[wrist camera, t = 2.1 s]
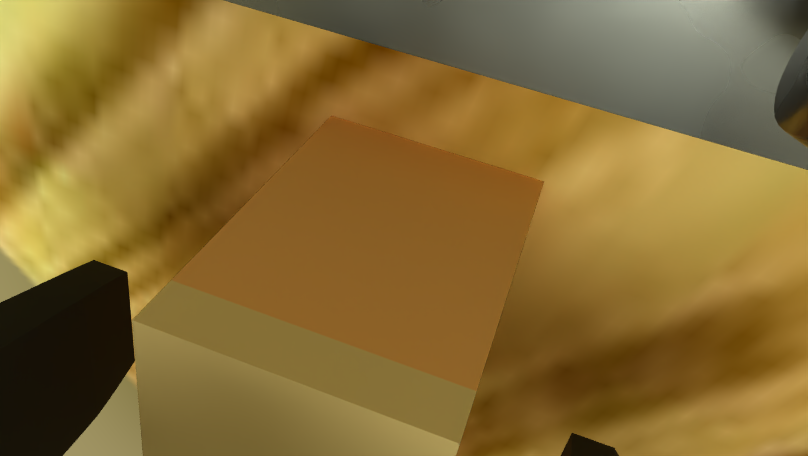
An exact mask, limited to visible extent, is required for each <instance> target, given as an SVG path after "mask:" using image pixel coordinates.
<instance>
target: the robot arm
mask: <svg viewBox="0 0 808 456" xmlns="http://www.w3.org/2000/svg"><path fill="white" fill-rule="evenodd" d="M134 361H135V357H134V346H133V334H132V322H131V310H130V299H129V287H128V275H127V272H126V271H123V270H120V269H117V268H114V267H112V266H109V265H106V264H103V263H101V262H98V261H95V260H93V261H90V262H88V263H86V264H83V265H81V266H79V267H77V268H74V269H72V270H70V271H68V272H65V273H63V274H61V275H59V276H57V277H55V278H52V279H50V280H48V281H46V282H44V283H42V284H40V285H37V286H35V287H33V288H31V289H29V290H27V291H25V292H22V293H20V294H18V295H16V296H14V297H12V298H10V299H7V300H5V301H3V302H1V303H0V456H63V455H64V453H65V452H66V451H67V450H68V449H69V448H70V447H71V446H72V444H73V443H74V442H75V441H76V440H77V439H78V438H79V436H80V435H81V434H82V433H83V432H84V431H85V430H86V428H87V427H88V426H89V425H90V424H91V422H92V421H93V420H94V419H95V418H96V417H97V415H98V414H99V413H100V411H101V410H102V409H103V407H104V406H105V404H106V403H107V402H108V400H109V399H110V397H111V396H112V394H113V393H114V392H115V390H116V389H117V387H118V386H119V384H120V383H121V381H122V379H123V378H124V377H125V375H126V374H127V372H128V371H129V369H130V368H131V366H132V364H133V363H134ZM561 456H619V455H618V454H617V452H616V450H615V448H613V447H610V446H607V445H605V444H602V443H599V442H596V441H594V440H591V439H588V438H585V437H583V436H580V435H577V434H574V433H572V434H571V436H570V438H569V440H568V442H567V444H566V446H565V448H564V450H563V452H562V454H561Z"/></svg>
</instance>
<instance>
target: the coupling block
mask: <svg viewBox="0 0 808 456" xmlns="http://www.w3.org/2000/svg"><path fill="white" fill-rule="evenodd" d="M543 183H544V181H540V180H537V179H534V178H531V177H528V176H524V175H521V174H518V173H515V172H511V171H508V170H505V169H502V168H499V167H495V166H492V165H489V164H486V163H483V162H479V161H476V160H473V159H470V158H466V157H463V156H460V155H457V154H454V153H450V152H447V151H444V150H441V149H437V148H434V147H431V146H428V145H425V144H421V143H418V142H415V141H412V140H408V139H405V138H402V137H399V136H396V135H392V134H389V133H386V132H383V131H379V130H376V129H373V128H370V127H367V126H363V125H360V124H357V123H354V122H350V121H347V120H344V119H341V118H338V117H334V116H331V117H330V118H329V119H328V120H327V121H326V122H325V123H324V124H323V125H322V126H321V127H320V128H319V129H318V130H317V131H316V132H315V133H314V134H313V135H312V136H311V137H310V138H309V139H308V140H307V141H306V142H305V143H304V144H303V145H302V146H301V148H300V149H299V150H298V151H297V152H296V153H295V154H294V155H293V156H292V157H291V158H290V159H289V160H288V161H287V162H286V163H285V164H284V165H283V166H282V167H281V168H280V169H279V170H278V171H277V172H276V173H275V174H274V175H273V176H272V177H271V178H270V179H269V180H268V181H267V182H266V183H265V184H264V185H263V186H262V188H261V189H260V190H259V191H258V192H257V193H256V194H255V195H254V196H253V197H252V198H251V199H250V200H249V201H248V202H247V203H246V204H245V205H244V206H243V207H242V208H241V209H240V210H239V211H238V212H237V213H236V214H235V215H234V216H233V217H232V218H231V219H230V220H229V221H228V222H227V223H226V224H225V225H224V226H223V227H222V229H221V230H220V231H219V232H218V233H217V234H216V235H215V236H214V237H213V238H212V239H211V240H210V241H209V242H208V243H207V244H206V245H205V246H204V247H203V248H202V249H201V250H200V251H199V252H198V253H197V254H196V255H195V256H194V257H193V258H192V259H191V260H190V261H189V262H188V263H187V264H186V265H185V266H184V267H183V268H182V270H181V271H180V272H179V273H178V274H177V275H176V276H175V277H174V278H173V279H172V280H171V281H170V282H169V283H168V284H167V285H166V286H165V287H164V288H163V289H162V290H161V291H160V292H159V293H158V294H157V295H156V296H155V297H154V298H153V299H152V300H151V301H150V302H149V303H148V304H147V305H146V306H145V307H144V308H143V310H142V311H141V312H140V313H139V314H138V315H137V316H136V317H135V318H134V319H133V320H132V325H133V337H134V350H135V362H136V375H137V387H138V399H139V412H140V425H141V437H142V450H143V456H456V454H457V451H458V448H459V445H460V442H461V439H462V436H463V433H464V430H465V426H466V423H467V420H468V417H469V414H470V411H471V408H472V405H473V401H474V398H475V395H476V392H477V389H478V386H479V383H480V380H481V376H482V373H483V370H484V367H485V364H486V361H487V358H488V355H489V351H490V348H491V345H492V342H493V339H494V336H495V333H496V330H497V326H498V323H499V320H500V317H501V314H502V311H503V308H504V305H505V301H506V298H507V295H508V292H509V289H510V286H511V283H512V280H513V277H514V273H515V270H516V267H517V264H518V261H519V258H520V255H521V252H522V248H523V245H524V242H525V239H526V236H527V233H528V230H529V227H530V223H531V220H532V217H533V214H534V211H535V208H536V205H537V202H538V198H539V195H540V192H541V189H542V186H543Z"/></svg>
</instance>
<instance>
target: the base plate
mask: <svg viewBox="0 0 808 456" xmlns="http://www.w3.org/2000/svg"><path fill="white" fill-rule="evenodd" d="M225 1H228V2H232V3H235V4H238V5H242V6H245V7H249V8H252V9H256V10H259V11H263V12H266V13H269V14H273V15H276V16H280V17H283V18H287V19H290V20H293V21H297V22H300V23H304V24H307V25H311V26H314V27H318V28H321V29H324V30H328V31H331V32H335V33H338V34H342V35H345V36H349V37H352V38H355V39H359V40H362V41H366V42H369V43H373V44H376V45H380V46H383V47H386V48H390V49H393V50H397V51H400V52H404V53H407V54H411V55H414V56H417V57H421V58H424V59H428V60H431V61H435V62H438V63H442V64H445V65H448V66H452V67H455V68H459V69H462V70H466V71H469V72H473V73H476V74H479V75H483V76H486V77H490V78H493V79H497V80H500V81H504V82H507V83H510V84H514V85H517V86H521V87H524V88H528V89H531V90H535V91H538V92H541V93H545V94H548V95H552V96H555V97H559V98H562V99H566V100H569V101H572V102H576V103H579V104H583V105H586V106H590V107H593V108H597V109H600V110H603V111H607V112H610V113H614V114H617V115H621V116H624V117H628V118H631V119H634V120H638V121H641V122H645V123H648V124H652V125H655V126H659V127H662V128H665V129H669V130H672V131H676V132H679V133H683V134H686V135H689V136H693V137H696V138H700V139H703V140H707V141H710V142H714V143H717V144H720V145H724V146H727V147H731V148H734V149H738V150H741V151H745V152H748V153H751V154H755V155H758V156H762V157H765V158H769V159H772V160H776V161H779V162H782V163H786V164H789V165H793V166H796V167H800V168H803V169H807V170H808V148H807V147H806V146H804V145H803V144H802V143H800V142H799V141H797V140H796V139H795V138H793V137H792V136H791V135H789V134H788V133H786V132H785V131H784V130H783V129H782V128H781V127H780V126H779V125H778V123H777V121H776V119H775V114H774V102H775V96H776V92H777V88H778V85H779V82H780V79H781V77H782V74H783V72H784V70H785V68H786V66H787V64H788V62H789V60H790V58H791V56H792V54H793V53H794V51H795V49H796V47H797V45H798V44H799V42H800V41H801V39H802V38H803V36H804V35H805V33H806V32H807V30H808V0H225Z"/></svg>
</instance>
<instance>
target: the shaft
mask: <svg viewBox="0 0 808 456" xmlns="http://www.w3.org/2000/svg"><path fill="white" fill-rule="evenodd" d="M774 114H775V119H776V121H777V123H778V125H779V126H780V127H781V128H782V129H783V130H784V131H785V132H786V133H788V134H789V135H791V136H792V137H793V138H795V139H796V140H797V141H799V142H800V143H802V144H803V145H804V146H806V147H807V148H808V30H807V32H806V33H805V35H804V36H803V38H802V39H801V41H800V42H799V44H798V45H797V47H796V49H795V51H794V53H793V54H792V56H791V58H790V60H789V62H788V64H787V66H786V68H785V70H784V72H783V74H782V77H781V79H780V82H779V85H778V88H777V92H776V96H775V102H774Z"/></svg>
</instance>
